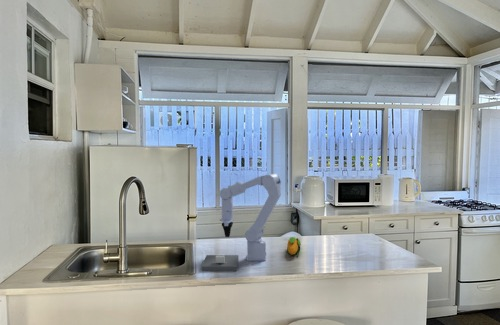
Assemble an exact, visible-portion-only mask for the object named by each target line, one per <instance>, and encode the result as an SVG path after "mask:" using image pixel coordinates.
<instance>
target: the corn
mask: <svg viewBox="0 0 500 325" xmlns="http://www.w3.org/2000/svg"><path fill="white" fill-rule="evenodd" d="M301 243H302V242H301V240H300V239H299V238H298V237H297V238H296V237H295V236H290V237H289V239H288V241H287V244H286V245H287V246H286V251H287V252H286V253H288V254H289V255H296V256H299V254H300V252H301Z"/></svg>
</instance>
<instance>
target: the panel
mask: <svg viewBox="0 0 500 325" xmlns="http://www.w3.org/2000/svg"><path fill="white" fill-rule="evenodd" d="M216 255H217V254H207V255H206V256H205V258H204V260H203V263H202V265H201V272H202V271H203V272H213V271H214V272H229V271H230V272H231V271H233V272H237V271H238V267H239V257H240V256H239V254H224V255H225V262H224V263H216Z"/></svg>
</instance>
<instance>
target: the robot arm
mask: <svg viewBox="0 0 500 325" xmlns="http://www.w3.org/2000/svg"><path fill="white" fill-rule="evenodd" d="M281 185H282V181H281V178H280V176H279V175H278V174H277V173H274V172H273V173H270V174H264V175H262V176H257V177H255V178H253V179H249V180H247V181H246V182H243V181H236V182H235V183H234V184H232V185H228V186H227V187H223V188H222V189H221V190H219V198H220V199H221V218H219V222H222V223H221V226H222V229H223V233H224V236H225V238H230V237H231V230H232V227H233V224H234V222H233V221H234V211H233V210H234V207H233V206H234V204H233V202H234V201H233V200H234V197H236V196H239V195H242V194H243V193H246V190H247V189H250V188H252V187H255V186H263V188H264V189H265V190H266V191H267V193H268V197H267V198H266V200H265V203H264V204H263V206H262V208H261V210H260V212H259V213H258V215H257V217H256V220H255V221H254V222H253V223H252V225H251V226H250V227H249V229H247V230H246V231H245V233H244V235H245V236H244V237H245V240H246V245H247V246H246V249H247V250H246V252H247V253H246V261H247V262H248V261H249V262H250V261H251V262H252V261H254V262H255V261H258V262H259V261H262V262H264V261H265V262H266V261H267V260H266V259H267V252H266V247H267V244H266V240H262V237H263V235H264V230H265V228H266V226H265V225H266V224H267V221H268V220H269V218H270V216H271V214H272V213H273V211H274V209H275V207H276V205H277V203H278V202H279V200H280V197H281V194H282V193H281V189H282V188H281Z"/></svg>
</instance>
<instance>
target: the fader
mask: <svg viewBox="0 0 500 325" xmlns="http://www.w3.org/2000/svg"><path fill="white" fill-rule="evenodd" d="M215 255H216V263H224V262H225V255H226V254H215Z"/></svg>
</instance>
